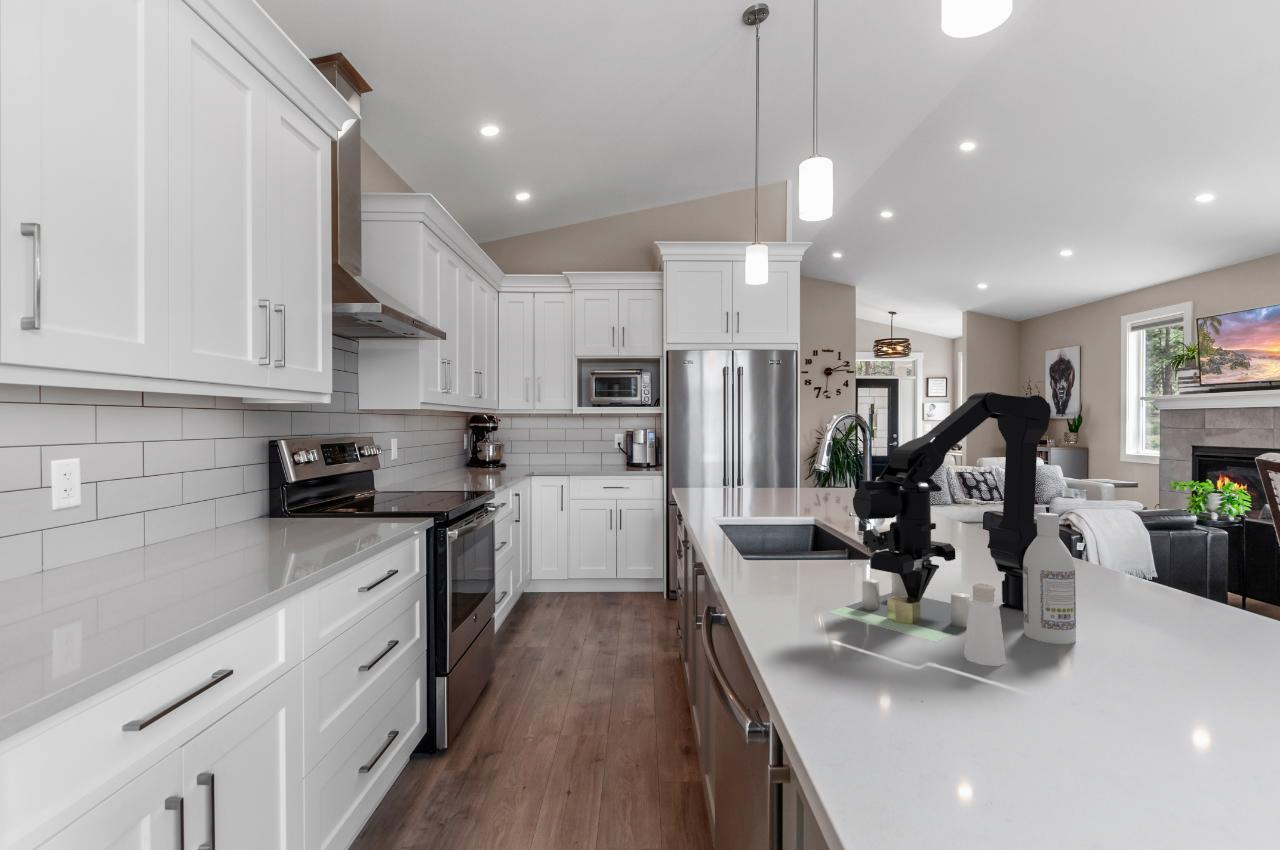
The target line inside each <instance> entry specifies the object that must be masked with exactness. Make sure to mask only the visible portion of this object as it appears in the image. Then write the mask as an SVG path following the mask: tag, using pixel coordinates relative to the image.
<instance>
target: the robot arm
mask: <svg viewBox="0 0 1280 850" xmlns="http://www.w3.org/2000/svg"><path fill="white" fill-rule="evenodd" d="M1051 408H1052V407H1051V405H1050V402H1048V401H1047V400H1046V398H1044V397H1043V396H1041V395H1037V394H1033V395H1020V396H1016V395H1007V394H1002V393H997V392H994V391H990V392H988V391H987V392H986V391H985V392H977V393H973V394H972V395H970V396H969V397H968V398H967V400H966V401H965V402H964V403H962V404H961V405H959V407H958V408H956V409H955V410H954V411H952V412H951V413H950V414H949V415H948V416H946V417H945V418H944V419H943V420H942V421H941V422H939V423H938V424H936V426H934V427H933V428H932V429H931V430H929V431H928V432H927V433H926V434H924V435H922V436H919V437H916V438H914V439H911V440H909V441H907V442H904V443H903V444H901V445H900V446H898V447H896V448H894V449H893V450H892V451H891V452H890V454H889V461H888V462H887V464H886V465H885V467H884V469H883V470H882V471H881V473H880V475H879V477H878V478H877V479H876V480H866V479H864V480H862V479H861V480H859V487H858V488H856V490H855V492H854V496H853V497H852V507H853V510H854V513H855V514H856V516H857V517H858V518H859V519H860V520H880V519H881V520H882V519H893V518H895V521H891V522H890V523H889V529H888V530H885V531H881V532H879V531H878V529H876V528H872V529H867V530H863V532H862V533H863V534H862V544H863V545H862V546H864V547H865V548H867V549H869V552H870V553H872V554H871V555H870V557H869V568H870V569H871V570H875V571H881V572H887V573H891V574H892V573H896V574H899V575H900V577H901V579H902V581H903V584H904V586H905V589H906V592H907V595H908V597H913V598H915V599H917V600H919V601H920V600H921V598H922V597H924V594H925V592H926V590H927V588H928V587H929V585H930V582H931V580H932V579H933V577H934V575H935V573H936V572H937V571H938V570H939V568H940V565H939V564H934V563H933V561H932V560H931V558H934V557H938V558H943V559H944V561H946V562H951V561H954V560H956V549H955V547H954V546H953V545H952V544H951V543H948V542H941V541H934V540H932V530H936V529H937V523H936V522H932V517H931V516H932V514H931V513H932V509H931V507H932V506H931V501H932V500H931V493H933V492H935V493H936V492H942V489H943V488H942V486H940V485H939V484H937V483H936V482H935V481H934V479H933V478H932V477H933V476H934V475H935V474H936V473H937V471H938V470H939V469H940V468H941V467H942V466H943V464H944V463H945V458H946V455H947V454H948V453H949V452H950V451H951V449H953V448H954V447H955V446H956V445H957V444H959V443H960V442H961V441H963V440H964V439H965V438H966V437H967V436H968V435H969V434H971V433H972V432H973V431H975V429H976V428H978V427H979V426H980V425H981V424H983V423H984V422H985V421H986V420H988V419H994V420H996V421H997V428H998V431H999V432H1000V434H1001V436H1002V438H1003V440H1004V441H1005V460H1004V461H1005V465H1004V482H1003V504H1002V505H1003V507H1002V508H1003V509H1002V519H1001V520H1000V522H999V523H998V524H997V526H996V527H994V526H990V527H989V529H988V538H989V540H988V543H987V549H989V551H990V552H989V555H990V557H991V558H992V559H993V560H994V563H995V566H996V570H997V571H998V572H999V573H1000V572H1001V573H1004V580H1001V602H1002V604H1000V607H1002V608H1005V609H1011V610H1015V611H1021V612H1024V609H1023V560H1024V555H1025V553H1026V551H1027V549H1028V547H1029V546H1030V544H1031V543H1032V542H1033V541H1034V539H1035V538H1036V537H1037V535H1038V534H1037V524H1035V504H1036V503H1035V502H1036V478H1037V463H1038V462H1037V460H1038V445H1039V443H1040V441H1041V439H1042V438H1043V437H1044V435H1045V434H1046V432H1047V431H1048V430H1049V424H1050V419H1051V413H1052V410H1051Z"/></svg>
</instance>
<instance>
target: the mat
mask: <svg viewBox="0 0 1280 850" xmlns="http://www.w3.org/2000/svg"><path fill="white" fill-rule="evenodd" d="M889 597H892V592H888V593H885V594H882V595H880V609H879V610H867V609H864V608H863V603H862V601H859V602H855V603H853V604H849V605H846V606H842V607H840V608H838V609H837V608H836V609H833V610H830V611H827V614H828V613H829V614H832V615H836V616H840V617H842V618H846V619H850V620H854V621H858V622H861V623H865V624H869V625H872V626H876V627H880V628H883V629H887V630H891V631H894V632H897V633H901V634H904V635H909V636H913V637H917V638H920V639H924V640H926V641H931V642H933V643H936V642H939V641H940V640H941V641H942V640H944V639H946V638H948V637H950V636H954V635H955V634H959V633H960V632H962V631H964V630H967V628H962V627H956V626H953V625H952V624H951V602H947V601H946V602H945V601H941V600H938V599H933V598H928V597H924V596H922V598H921V600H920V609H921V621H920V622H918V623H915V624H904V623H895V622H894V621H892V620H890V619H889V618H888V613H887V598H889Z"/></svg>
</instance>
